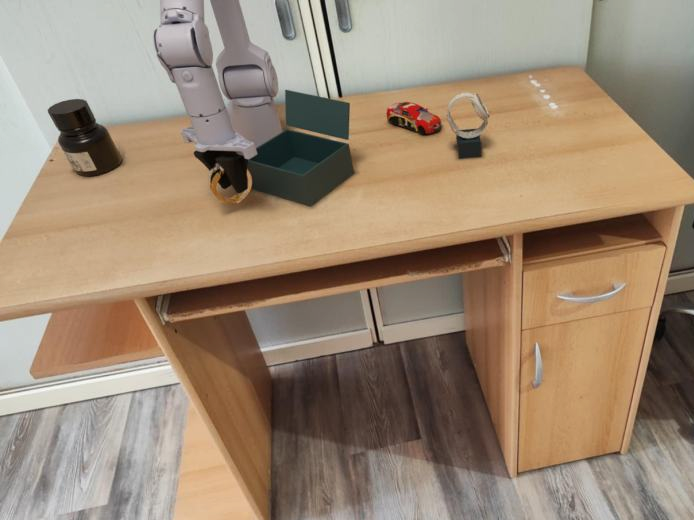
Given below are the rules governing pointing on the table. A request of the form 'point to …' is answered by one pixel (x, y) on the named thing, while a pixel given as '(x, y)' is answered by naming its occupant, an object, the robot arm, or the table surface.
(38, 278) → the table surface
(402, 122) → the race car
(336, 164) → the carton
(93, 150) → the ink bottle
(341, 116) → the flap
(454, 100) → the watch
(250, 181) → the ring
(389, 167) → the table surface
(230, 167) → the robot arm
